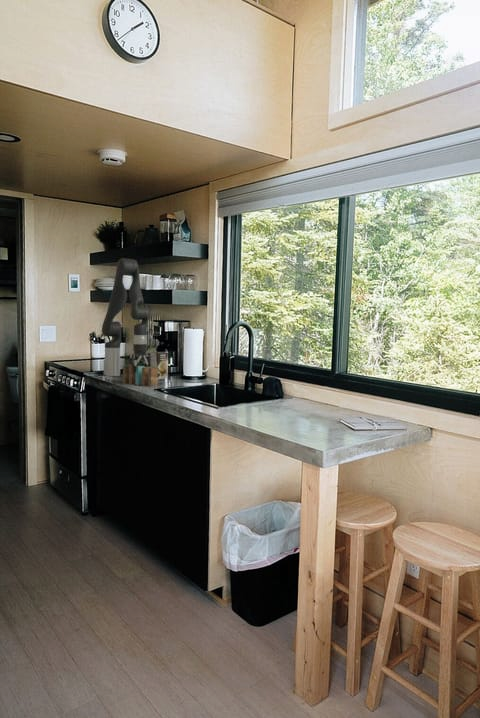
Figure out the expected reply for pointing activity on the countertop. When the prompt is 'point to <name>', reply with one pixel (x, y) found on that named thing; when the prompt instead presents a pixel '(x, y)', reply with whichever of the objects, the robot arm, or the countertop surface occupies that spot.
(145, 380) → the domino
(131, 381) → the domino
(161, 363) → the coffee box
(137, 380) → the domino
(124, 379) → the domino
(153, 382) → the domino
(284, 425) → the countertop surface
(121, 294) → the robot arm
